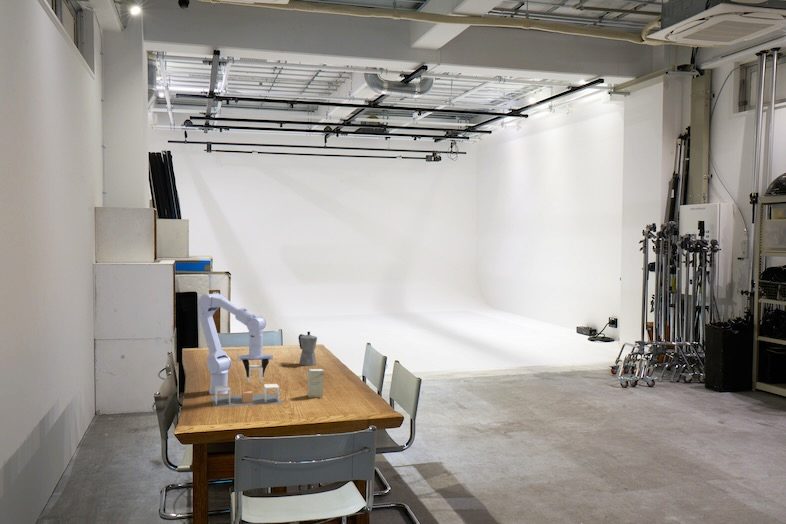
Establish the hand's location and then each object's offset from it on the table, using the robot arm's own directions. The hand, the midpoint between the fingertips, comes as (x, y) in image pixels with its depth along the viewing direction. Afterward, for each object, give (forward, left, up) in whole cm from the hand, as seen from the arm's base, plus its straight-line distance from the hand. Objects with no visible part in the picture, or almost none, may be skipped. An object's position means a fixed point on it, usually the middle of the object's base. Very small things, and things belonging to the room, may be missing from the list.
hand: (255, 376), depth 285 cm
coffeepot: (-69, +37, -10) cm, 79 cm away
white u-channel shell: (0, 0, -2) cm, 2 cm away
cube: (+7, -4, -9) cm, 12 cm away
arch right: (+7, +6, -9) cm, 13 cm away
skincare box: (+3, +26, -10) cm, 28 cm away
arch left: (+7, -14, -9) cm, 18 cm away
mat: (+4, -4, -9) cm, 11 cm away
